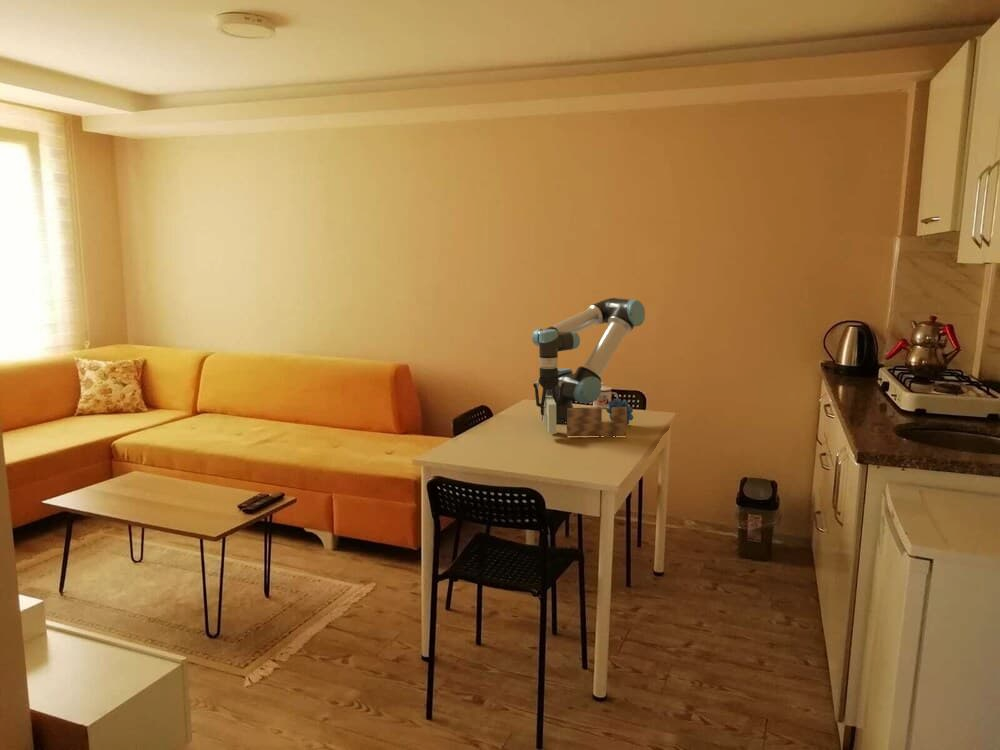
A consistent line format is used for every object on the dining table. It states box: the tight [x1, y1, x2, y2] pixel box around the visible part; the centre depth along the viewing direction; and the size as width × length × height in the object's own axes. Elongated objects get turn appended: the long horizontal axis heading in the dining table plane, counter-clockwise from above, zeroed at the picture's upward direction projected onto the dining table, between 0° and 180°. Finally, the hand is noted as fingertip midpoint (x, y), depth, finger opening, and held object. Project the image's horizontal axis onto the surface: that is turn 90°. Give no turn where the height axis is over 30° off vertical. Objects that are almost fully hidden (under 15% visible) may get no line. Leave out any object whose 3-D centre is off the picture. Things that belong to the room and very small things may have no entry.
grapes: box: [606, 397, 634, 426], centre depth 315 cm, size 12×7×12 cm, turn 71°
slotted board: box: [566, 407, 628, 437], centre depth 296 cm, size 24×3×12 cm, turn 92°
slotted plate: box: [544, 396, 557, 435], centre depth 297 cm, size 16×3×12 cm, turn 2°
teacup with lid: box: [592, 382, 619, 409], centre depth 351 cm, size 12×9×12 cm
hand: (549, 422), depth 304 cm, fingers closed on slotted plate, 3 cm apart
